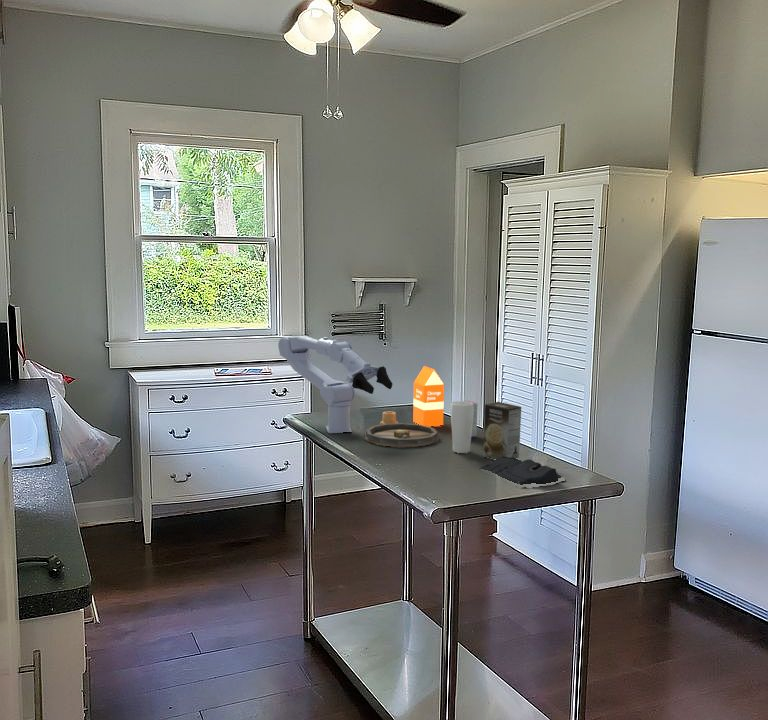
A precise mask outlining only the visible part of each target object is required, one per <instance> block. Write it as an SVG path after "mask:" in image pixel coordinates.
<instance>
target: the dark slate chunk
mask: <svg viewBox="0 0 768 720" xmlns="http://www.w3.org/2000/svg"><path fill="white" fill-rule="evenodd" d="M479 469H484V470H488V471H491V472H492V473H495V474H497V475H498V476H500V477H502V478H505V479H507V480H509V481H512V482H514V483H517V484H520V485H523V484H531V483H536V484H546V483H551V482H556V481H558V478H561V477H563V476H561V474H559V473H558V472H557V469H556V468H552V467H550V466H548V465H542V464H541V463H540V462H535V460H532V459H525V460H521V459H519V460H518V459H515V458H512V457H505V456H503V457H500V458H498V459H496V460H492V461H491V462H488V463H486V464H484V465H482V466H481V467H480V468H479Z"/></svg>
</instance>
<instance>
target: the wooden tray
mask: <svg viewBox="0 0 768 720" xmlns="http://www.w3.org/2000/svg"><path fill="white" fill-rule="evenodd" d="M363 437H364V438H365V439H364V440H366V441H365V442H367V441H368V442H367V443H369V442H370V443H369V444H371V443H373V444H372V445H374V444H378V445H377V446H379V445H383V446H382V447H385V446H391V447H390V448H395V447H412V448H419V447H418V446H422V447H427V446H426V445H428V446H431V445H430V444H432V445H434V444H436V443H438V442H439V441H440V439H439V438H440V437H439V432H438V431H437V429H435V428H434V427H428V426H424V425H418V424H416V423H405V422H404V423H403V422H402V423H396V424H382V425H380V424H377V425H372V426H370V427H368V428H366V429H365V434H364V436H363ZM437 441H438V442H437ZM435 442H436V443H435ZM433 443H434V444H433Z"/></svg>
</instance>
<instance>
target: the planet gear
mask: <svg viewBox="0 0 768 720" xmlns="http://www.w3.org/2000/svg"><path fill="white" fill-rule="evenodd" d="M396 423H399V421H397V412H396V411H393V410H392V411H391V410H390V411H383V412H382V420H381V421H380V422H379V425H382V424H396Z"/></svg>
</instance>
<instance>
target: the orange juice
mask: <svg viewBox="0 0 768 720" xmlns="http://www.w3.org/2000/svg"><path fill="white" fill-rule="evenodd" d="M418 373H419V374H418V375H417V377H416V378H415V380H414V381H413V415H412V416H413V417H412V420H413V421H412V422H413V423H414V422H415V423H414V424H416V423H417V424H419V425H424V426H428V427H431V426H434V427H441V426H440V425H443V426H444V408H445V407H444V406H445V405H444V404H445V401H444V400H445V398H444V397H445V395H444V393H445V386H444V385H445V384H444V382H443V381H442V379H441V378H440V376H439V374H438V373H437V371H436V370H435V369H434V368H431V367H428V366H426V365H423V367H422V369H421V371H420V372H418ZM431 428H432V427H431Z"/></svg>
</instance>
